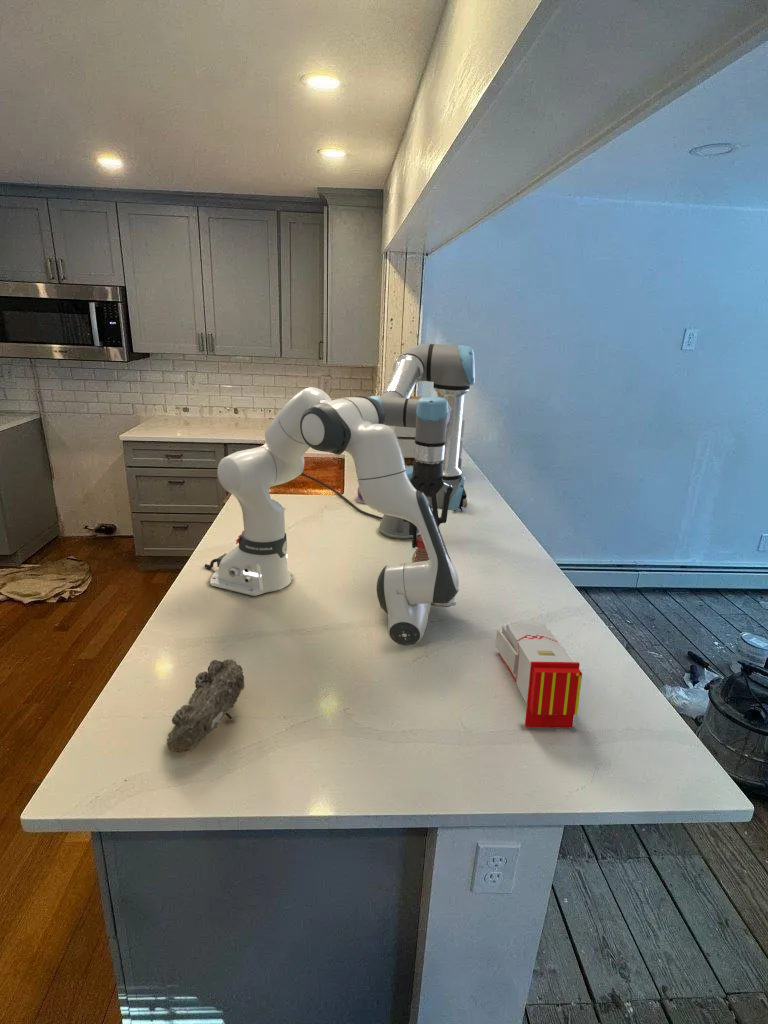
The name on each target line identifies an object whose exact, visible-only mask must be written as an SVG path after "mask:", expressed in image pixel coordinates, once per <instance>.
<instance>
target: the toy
mask: <svg viewBox="0 0 768 1024" xmlns="http://www.w3.org/2000/svg"><path fill="white" fill-rule="evenodd" d="M551 631H552V630H551V629H550V628H548V627H547V625H546V624H545V623H506V625H502V628H501V629H500V628H499V629H497V630H496V636H495V637H496V638H495V644H494V647H495V649H496V651H497V652H498V655H499V657H500V659H501V661H502V662H503V664H504V666H505V667H506V669H507V670H508V672H509V674H510V676H511V677H512V679H513V680H514V682H515V683H516V686H517V688H518V690H519V693H520V694H521V695H522V698H523V700H524V702H525V704H526V708H525V709H526V710H525V721H524V727H525V728H552V729H553V728H555V729H556V728H557V729H562V728H563V729H573V726H574V719H575V716H578V712H579V703H580V695H581V687H582V677H583V672H582V670H580V667H581V665H580V662H578V661H573V659H572V657H570V656H569V655H570V654H568V653H567V651H566V650H565V649H564V647H563V646H562V645H561V644H560V641H558V639H557V638H556V637H555V636H554V634H553V633H552V632H551Z"/></svg>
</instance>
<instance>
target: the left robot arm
mask: <svg viewBox="0 0 768 1024" xmlns="http://www.w3.org/2000/svg"><path fill="white" fill-rule="evenodd" d="M264 438H265V439H264V440H265V444H263V445H261V446H257V447H252V448H248V449H243V450H238V451H235V452H232V453H231V454H229V455H227V456H225V457H223V458H221V459H220V460H219V463H218V464H217V469H216V470H217V471H216V472H217V478H218V479H217V480H218V483H219V484H220V486H221V487H222V488H223V489H224V490H225V491H226V492H227V493H229V494H231V495H232V496H234V497H235V499H236V500H237V501H238V503H239V506H240V509H241V513H242V520H243V521H242V522H243V530H242V531H241V534H239V535H238V538H237V539H235V544H236V545H237V544H238V546H236V547H234V548H233V549H231V550H230V551H228V552H226V553H224V554H222V555H221V556H219V557H217V558H213V559H212V560H211V561H210V562H209V564H207V563H205V564H204V567H205V568H207V569H212V568H213V567H214V565H215V563H216V567H217V568H218V569H216V570H215V571H214V573H213V574H212V575H211V577H210V583H209V584H210V586H211V587H216V588H220V589H224V590H227V591H232V592H236V593H239V594H245V595H247V596H252V597H254V596H255V597H256V596H260V595H263V594H265V593H271V592H276V591H279V590H282V589H284V588H286V587H288V586H289V585H290V584H291V583H292V580H293V579H292V575H291V572H290V569H289V565H288V559H287V558H289V557H288V539H287V533H286V523H285V522H286V521H285V520H286V519H285V518H286V517H285V515H286V514H285V507H284V506H283V505H282V504H281V503H280V502H278V501H277V500H275V499H273V498H271V495H270V488H272V487H275V486H279V485H282V484H287V483H288V482H290V481H293V480H294V479H296V478H298V477H300V476H302V475H301V473H303V472H304V469H305V457H304V455H305V454H306V452H308V450H309V449H312V450H314V451H319V452H323V453H330V454H333V455H337V456H340V455H342V454H343V453H344V452H347V453H348V454H349V455H350V456H351V458H352V459H353V463H354V467H355V473H356V478H357V484H358V486H359V489H360V492H361V495H362V498H363V500H364V502H365V503H364V504H366V506H368V507H369V508H371V509H372V510H373V511H375V512H377V513H380V514H382V515H384V514H385V515H390V516H394V517H398V518H402V519H405V520H407V521H410V522H411V523H413V524H414V525H415V526H416V527H417V528H418V529H419V531H420V534H421V537H422V539H423V542H424V545H425V548H426V550H427V553H428V556H429V560H428V561H421V562H413V563H412V562H402V563H394V564H387V565H386V566H384V567H383V569H382V570H381V571H380V573H379V575H378V577H377V581H376V597H377V600H378V605H379V609H381V610H383V611H384V613H385V614H386V615H387V617H388V619H387V620H388V623H387V625H388V626H387V632H388V636H389V638H390V639H391V641H392V642H394V643H396V644H397V645H399V646H404V647H405V646H413V645H416V644H417V643H419V642H420V641H421V640H422V638H423V637H424V634H425V632H426V630H427V626H428V622H429V615H430V614H431V613H430V612H431V608H432V607H438V608H446V609H447V608H450V607H453V606H456V604H457V597H456V596H457V594H458V593H459V586H460V582H459V581H460V580H459V575H458V572H457V569H456V568H455V566H454V564H453V561H452V559H451V557H450V554H449V552H448V549H447V547H446V544H445V541H444V538H443V536H442V533H441V529H440V526H439V527H438V524H437V521H436V519H435V516H434V513H433V510H432V508H431V506H430V503H429V501H428V499H427V498H426V496H425V494H424V493H423V492H421V491H418V490H416V489H415V488H414V486H413V485H412V484H411V482H410V480H409V478H408V476H407V472H406V467H407V466H406V465H405V462H404V458H403V454H402V450H401V447H400V444H399V441H398V439H397V436H396V434H395V432H394V430H393V429H392V428H391V427H389V426H387V425H385V413H384V410H383V407H382V406H381V404H380V403H379V402H378V401H377V400H375V399H373V398H370V396H366V395H356V396H349V397H340V398H336V399H332V397H330V395H329V394H328V393H326V392H325V390H322V389H321V388H318V387H313V386H311V387H306V388H303V389H301V390H300V391H299V392H297V393H296V394H295V395H294V396H293V397H292V398H291V399H290V400H289V401H287V403H285V405H284V406H283V407H282V408H281V409H280V411H279V412H278V413H277V414H276V416H275V417H274V418H273V420H272V421H271V422H270V424H269V425H268V426H267V427H266V429H265V432H264Z"/></svg>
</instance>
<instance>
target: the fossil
mask: <svg viewBox="0 0 768 1024" xmlns="http://www.w3.org/2000/svg"><path fill="white" fill-rule="evenodd" d="M243 670H244V669H243V667H242V665H240V664H237V662H236V661H235V660H234V659H232V658H231V659H227V658H226V659H224V660H223V661H222V660H217V659H212V660H211V661H210V663H209V665H208V666H207V671H201V672H199V673H198V674H197V675H196V676H195V680H194V684H195V685H194V687H195V689H194V690H193V693H192V694H191V697H190V698H189V700H188V704H184V705H182V706H181V707H180V709H177V710H176V711H175V713H174V715H173V716H172V718H171V723H172V724H173V727H172V730H171V731H170V732H168V734H167V738H166V741H167V742H166V745H167V749H168V750H169V751H173V752H174V753H176V754H178V753H182V752H188V751H189V752H192V751H193V750H195V748H196V747H197V746H199V744H200V743H201V742H203V741H204V740H205V739H206V738H207V737H208V736H209V735H210V734H211V733H212V732H214V730H215V729H217V727H218V726H219V724H220V722H221V721H222V720H223V719H224V718H225V716H226V717H227V719H229V720H233V717H232V715H230V714H229V710H230V709H231V708H234V706H235V704H236V703H237V702H238V699H239V697H240V695H241V693H242V691H243V690H245V689H244V688H245V675H244V671H243Z"/></svg>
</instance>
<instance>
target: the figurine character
mask: <svg viewBox="0 0 768 1024" xmlns="http://www.w3.org/2000/svg"><path fill="white" fill-rule="evenodd" d="M467 495H468V494H467V493H466V490H465V487H464V488H463V492H462V496H461V500H460V504H459V507H458V509H459V510H460V512H463V509H464V508H465V509H466V508H467V506H468V499H467V497H468V496H467ZM458 509H457V510H458ZM453 512H456V510H453Z"/></svg>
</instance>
